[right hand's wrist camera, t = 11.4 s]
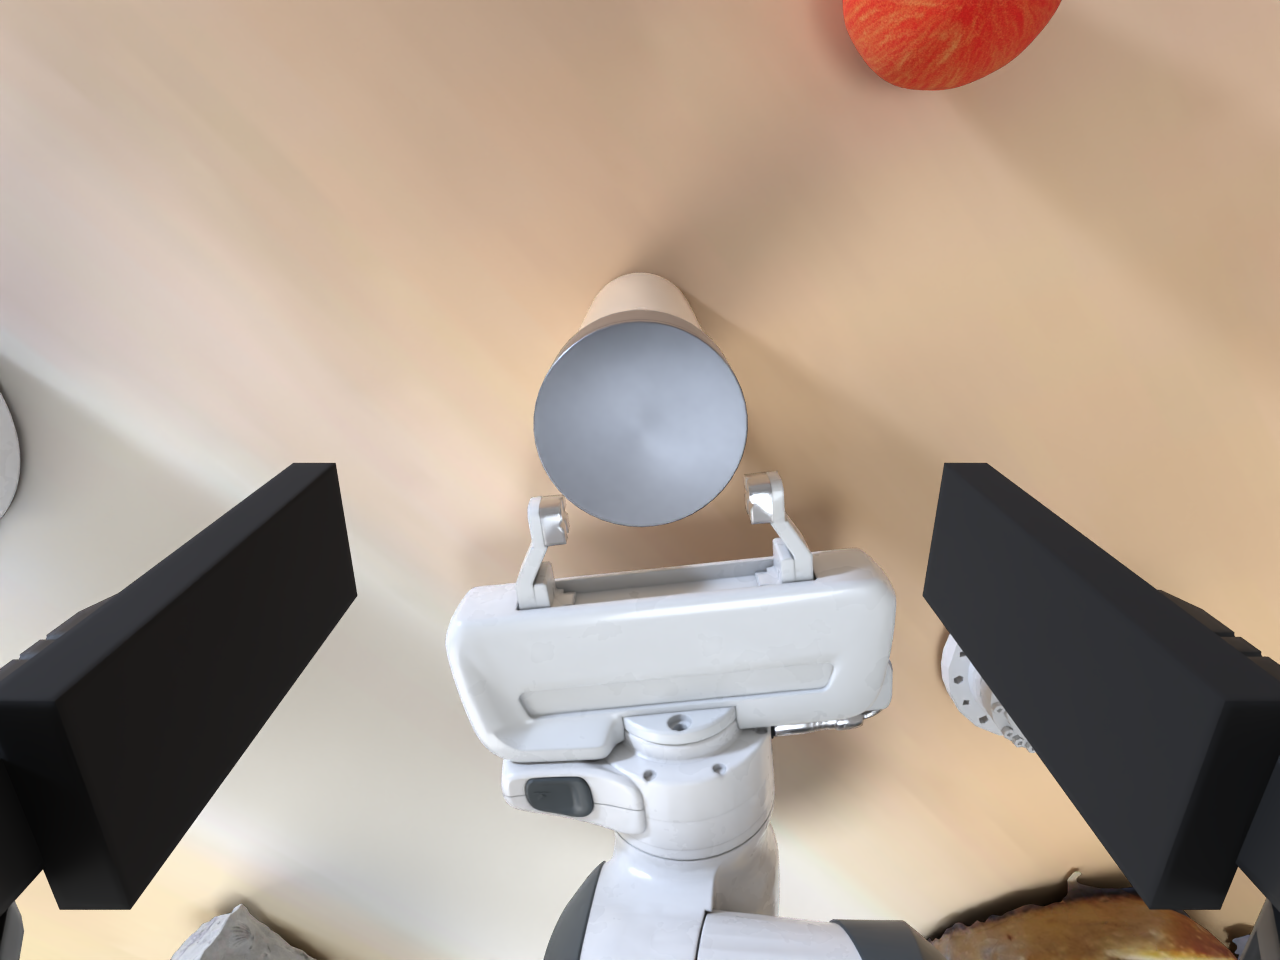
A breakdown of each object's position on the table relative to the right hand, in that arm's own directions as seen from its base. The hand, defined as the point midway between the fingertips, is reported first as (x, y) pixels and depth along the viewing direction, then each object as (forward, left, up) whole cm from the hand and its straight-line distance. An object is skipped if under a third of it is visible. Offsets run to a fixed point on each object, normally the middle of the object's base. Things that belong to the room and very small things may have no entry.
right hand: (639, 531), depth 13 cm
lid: (0, 0, -7) cm, 7 cm away
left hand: (+1, +6, -17) cm, 18 cm away
